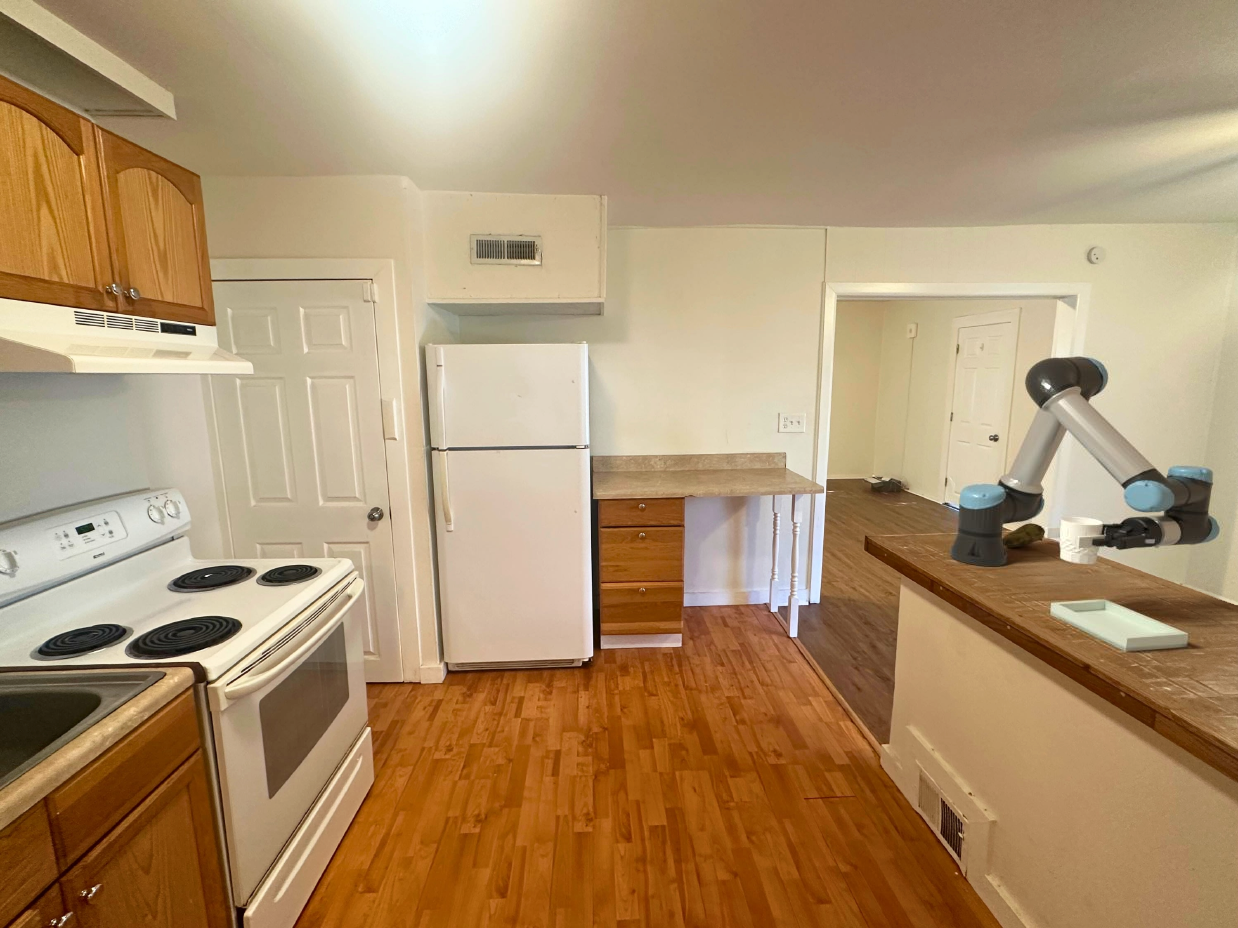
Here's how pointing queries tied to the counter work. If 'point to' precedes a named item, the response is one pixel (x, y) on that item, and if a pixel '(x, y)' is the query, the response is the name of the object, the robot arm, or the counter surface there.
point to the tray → (1119, 625)
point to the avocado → (1024, 536)
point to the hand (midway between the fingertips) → (1061, 537)
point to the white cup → (1071, 531)
